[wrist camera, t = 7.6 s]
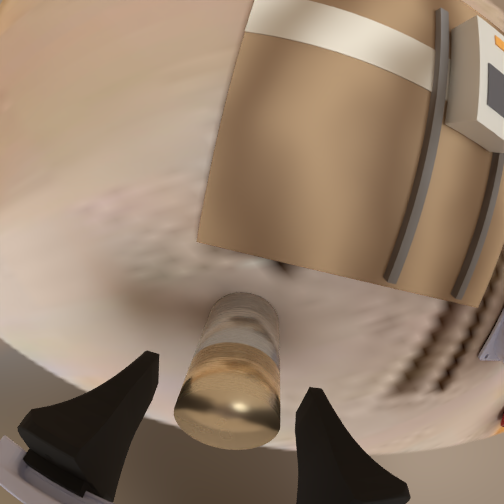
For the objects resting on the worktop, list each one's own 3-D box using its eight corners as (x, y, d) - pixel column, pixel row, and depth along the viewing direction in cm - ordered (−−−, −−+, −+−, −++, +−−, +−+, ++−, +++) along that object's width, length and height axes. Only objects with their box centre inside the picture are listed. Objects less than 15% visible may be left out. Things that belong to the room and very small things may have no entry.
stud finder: (495, 61, 9) (523, 53, 6) (489, 152, 11) (523, 155, 8) (451, 29, 9) (478, 14, 6) (444, 123, 11) (478, 120, 8)
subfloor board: (514, 53, 9) (528, 49, 7) (469, 300, 16) (482, 312, 14) (280, -58, 9) (280, -74, 7) (201, 235, 16) (192, 245, 14)
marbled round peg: (287, 301, 17) (294, 402, 9) (268, 356, 18) (264, 455, 11) (215, 284, 17) (176, 376, 9) (204, 341, 18) (172, 436, 11)
